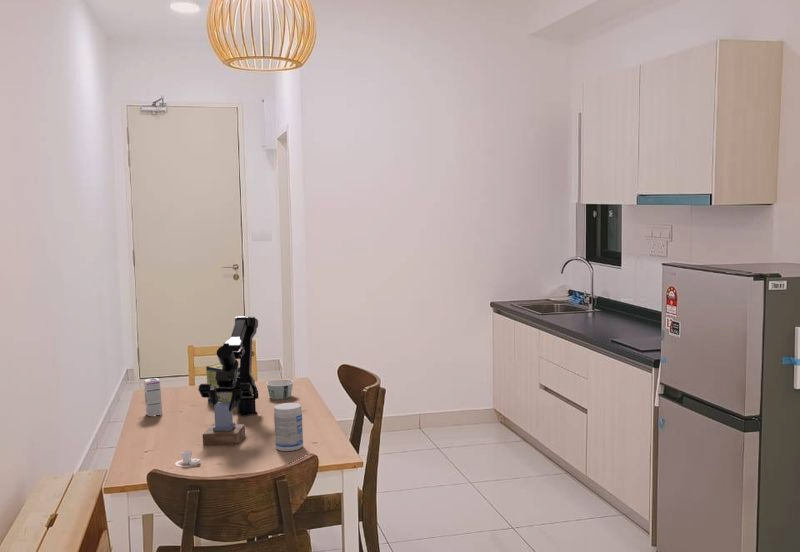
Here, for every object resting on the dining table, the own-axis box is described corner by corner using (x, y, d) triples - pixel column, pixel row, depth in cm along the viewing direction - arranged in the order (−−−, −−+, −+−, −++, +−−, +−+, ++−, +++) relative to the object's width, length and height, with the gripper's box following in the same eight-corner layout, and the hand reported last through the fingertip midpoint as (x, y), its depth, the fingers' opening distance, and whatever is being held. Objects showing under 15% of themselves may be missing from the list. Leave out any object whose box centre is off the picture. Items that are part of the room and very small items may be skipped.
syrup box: (162, 415, 305) (160, 380, 303) (147, 417, 302) (145, 381, 301) (160, 411, 310) (158, 377, 309) (145, 413, 307) (143, 378, 306)
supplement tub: (304, 450, 257) (303, 408, 256) (276, 453, 255) (274, 410, 253) (301, 442, 266) (300, 401, 265) (274, 444, 264) (272, 403, 263)
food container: (299, 396, 331) (299, 381, 330) (278, 402, 322) (277, 387, 321) (282, 392, 339) (281, 377, 338) (260, 397, 330) (260, 383, 329)
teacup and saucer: (204, 465, 245) (203, 453, 245) (179, 470, 241) (179, 458, 241) (195, 458, 253) (195, 446, 252) (172, 463, 249) (171, 451, 248)
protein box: (225, 396, 333) (224, 361, 332) (250, 401, 324) (248, 365, 323) (207, 401, 325) (205, 366, 323) (231, 406, 316) (230, 370, 314)
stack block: (212, 435, 277) (212, 424, 276) (245, 434, 276) (244, 424, 276) (203, 445, 265) (202, 434, 265) (236, 445, 264) (236, 434, 264)
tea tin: (217, 425, 274) (216, 401, 273) (235, 425, 273) (234, 401, 272) (212, 430, 267) (211, 406, 266) (230, 430, 267) (229, 405, 266)
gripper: (198, 361, 272) (190, 399, 262) (249, 361, 272) (243, 399, 262) (206, 378, 281) (198, 415, 271) (255, 377, 280) (250, 415, 270)
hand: (222, 411), depth 268 cm, fingers closed on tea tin, 5 cm apart
